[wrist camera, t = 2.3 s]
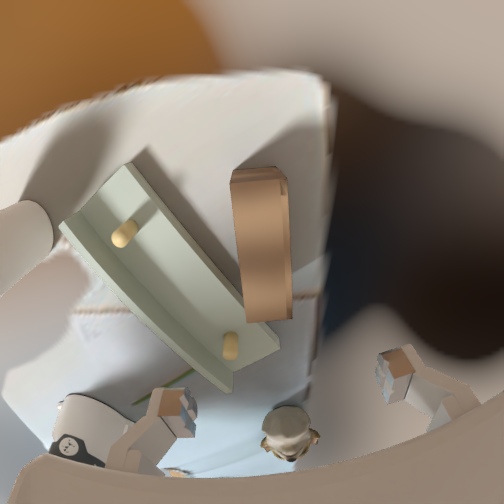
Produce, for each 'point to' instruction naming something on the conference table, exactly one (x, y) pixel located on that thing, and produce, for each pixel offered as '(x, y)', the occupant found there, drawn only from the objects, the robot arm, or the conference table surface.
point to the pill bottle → (22, 241)
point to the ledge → (167, 278)
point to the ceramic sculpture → (288, 433)
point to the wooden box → (263, 242)
